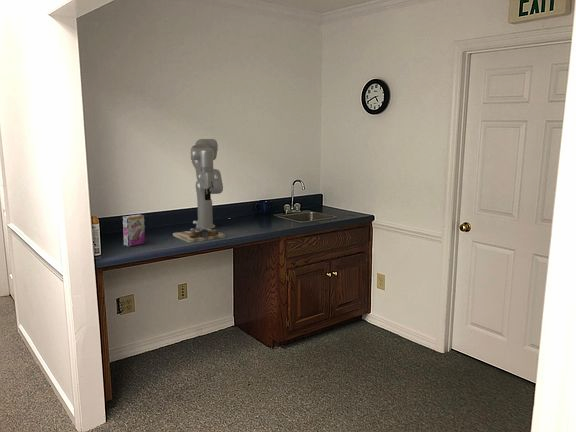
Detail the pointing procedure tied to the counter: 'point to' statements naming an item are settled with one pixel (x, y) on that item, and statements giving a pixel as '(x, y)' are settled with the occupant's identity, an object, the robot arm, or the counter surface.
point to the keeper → (203, 232)
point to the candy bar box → (133, 230)
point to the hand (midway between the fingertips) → (207, 199)
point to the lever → (198, 234)
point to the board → (186, 237)
